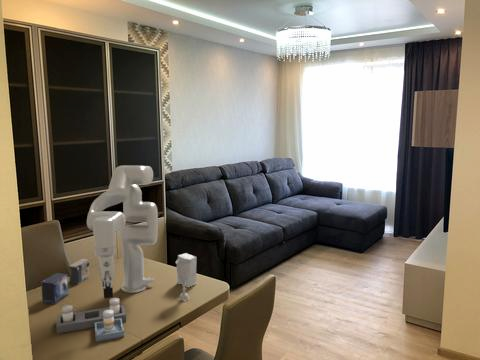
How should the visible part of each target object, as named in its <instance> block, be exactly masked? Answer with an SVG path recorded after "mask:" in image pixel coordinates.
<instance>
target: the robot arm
mask: <svg viewBox="0 0 480 360" xmlns="http://www.w3.org/2000/svg"><path fill="white" fill-rule="evenodd" d="M153 179H154V171H153V168H152V166H149V165H126V164H125V165H119V166H117V167H116V168H115V169H114V170H113V173H112V176H111V179H110V183H109V186H108V189H107V190H106V191H104V192H103V193H102V194H100V195H99V196H98V197H97V198H95V199H94V200H93V202H92V203H91V205H90V208H89V211H88V213H87V218H86V226H87V228H88V229H89V230H91V231H93V232H92V233H93V246H94V247H93V248H94V249H93V250H94V255H95V257H98V266H99V267H98V268H99V275H100V279H101V282H102V287H103V298H104V299H109V298H110V299H111V298H114V290H113V289H114V288H113V286H112V285H113V284H112V283H113V282H112V281H115V280H116V274H115V258H114V255H115V254H116V253H117V251H116V250H117V249H116V234H115V233H116V232H119V237H120V238H119V239H120V241H121V249H122V265H123V266H122V267H123V283H122V284H121V286H120V289H121V291H122V292H124V293H128V294H135V293H140V292H143V291H145V290H146V289H148V286H149V285H148V284H150V283H154V282H155V278H153V277H152V278H151V277H149V276H148V277H145V262H144V261H145V260H144V250H143V249H142V247H141V246H142V245H143V246H151V245H155V244H156V243H157V241H158V235H159V230H158V229H159V225H158V224H159V222H158V221H159V218H158V217H159V215H158V213H159V212H158V206H157V205H156V203H155V202H151V201H143V200H142V199H143V197H142V195H143V192H142V190H141V187H139V186H141V185H142V186H146V185H151V183H152V182H153ZM121 203H122V205H123V206H122V208H123V209H122V210H123V212H122V211H116V210H115V211H113V210H112V211H110V210H109V211H108V210H107V211H104V210H105V209H107V208H109V207H112V206H115V205H118V204H121ZM126 222H131V223H132V222H133V223H146V224H126Z"/></svg>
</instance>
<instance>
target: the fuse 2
mask: <svg viewBox="0 0 480 360" xmlns="http://www.w3.org/2000/svg"><path fill="white" fill-rule="evenodd" d="M120 301H121V300H120V298H118V297H111V298H110V299H109V302H108V303H109V307H110V310H113V311H114V314H120V307H119V305H120V303H121V302H120Z"/></svg>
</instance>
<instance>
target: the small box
mask: <svg viewBox="0 0 480 360" xmlns="http://www.w3.org/2000/svg"><path fill="white" fill-rule="evenodd" d="M68 279H69V277H68V274H66V273H60V272H59V273H58V272H55V273H53V274H51V275H50V276H49V277H47V278H45V279H43V280H41V292H42V293H41V298H42V304H46V305H52V306H53V305H56V304H58V303H59V302H60V301H62V300H63V299H64V298H66V297H68V296H69V284H68V283H69V280H68Z"/></svg>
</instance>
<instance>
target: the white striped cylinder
mask: <svg viewBox="0 0 480 360" xmlns="http://www.w3.org/2000/svg"><path fill="white" fill-rule="evenodd" d="M103 324H104V333H110V332H114V331H115V329H114V311H113V310H105V311H104V312H103Z"/></svg>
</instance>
